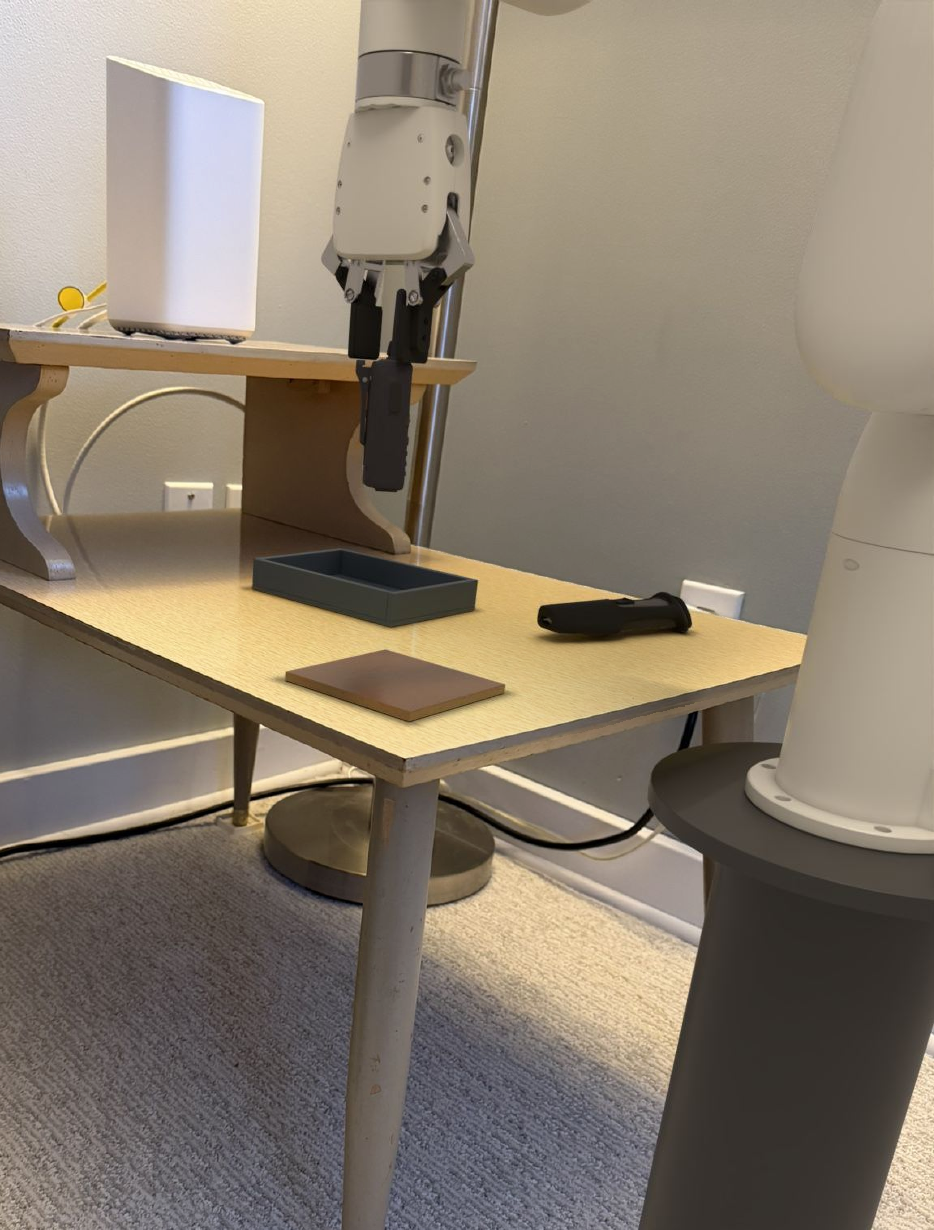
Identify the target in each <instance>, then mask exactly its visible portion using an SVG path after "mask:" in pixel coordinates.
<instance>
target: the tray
mask: <svg viewBox="0 0 934 1230" xmlns="http://www.w3.org/2000/svg"><path fill="white" fill-rule="evenodd" d="M252 562H253V564H252V577H251V578H252V580H251V581H252V582H251V583H252V584H251V589H252V590H255V591H258V592H261V593H265V594H269V595H273V596H277V597H279V598H284V599H288V600H290V601H295V602H298V603H300V604H301V603H302V604H305V605H309V606H312V607H316V608H320V609H324V610H328V611H330V612H334V613H337V614H341V615H345V616H350V617H352V618H357V619H359V620H363V621H367V622H370V623H374V624H377V625H381V626H385V627H389V628H393V627H394V628H395V627H400V626H403V625H408V624H413V623H419V622H424V621H429V620H434V619H439V618H443V617H449V616H454V615H458V614H463V613H468V612H473V611H475V610H476V602H477V593H478V584H479V579H477V578H472V577H468V576H464V575H458V574H454V573H450V572H445V571H441V570H437V569H433V568H428V567H424V566H420V565H415V564H412V563H407V562H403V561H402V562H401V561H398V560H394V559H389V558H386V557H382V556H378V555H372V554H367V553H364V552H359V551H356V550H351V549H348V548H347V549H346V548H344V547H343V548H342V547H340V548H339V547H338V548H331V549H321V550H313V551H306V552H298V553H297V552H296V553H289V554H288V553H287V554H280V555H279V554H278V555H272V556H271V555H270V556H263V557H254V558H253V561H252Z"/></svg>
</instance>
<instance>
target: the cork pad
mask: <svg viewBox="0 0 934 1230" xmlns="http://www.w3.org/2000/svg"><path fill="white" fill-rule="evenodd" d="M284 675H285V676H284V680H285V681H286V682H290V683H292V684H295V685H298V686H301V687H304V688H307V689H310V690H313V691H316V692H319V693H321V694H325V695H327V696H331V697H335V698H337V699H340V700H343V701H346V702H349V703H352V704H356V705H358V706H361V707H364V708H367V709H369V710H374V711H375V712H378V713H382V714H385V715H388V716H391V717H394V718H397V719H399V720H400V719H401V720H403V721H406V722H412V721H416V720H419V719H423V718H426V717H429V716H432V715H435V714H439V713H443V712H445V711H448V710H453V709H455V708H459V707H462V706H465V705H469V704H472V703H475V702H479V701H482V700H485V699H488V698H491V697H496V696H499V695H502V694H504V693H505V690H506V684H505V683H502V682H500V681H495V680H493V679H490V678H489V679H488V678H485V677H481V676H479V675H475V674H472V673H468V672H465V671H461V670H458V669H455V668H451V667H447V666H444V665H440V664H438V663H434V662H430V661H428V660H423V659H421V658H417V657H414V656H410V655H406V654H403V653H399V652H395V651H392V650H389V649H386V648H385V649H381V650H377V651H371V652H368V653H362V654H358V655H354V656H348V657H345V658H341V659H335V660H331V661H326V662H322V663H317V664H313V665H308V666H304V667H299V668H295V669H291V670H286V671H285V674H284Z"/></svg>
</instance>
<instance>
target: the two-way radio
mask: <svg viewBox="0 0 934 1230" xmlns="http://www.w3.org/2000/svg"><path fill="white" fill-rule="evenodd" d="M394 304H395V306H394V312H393V313H394V314H393V323H392V334H391V340H390V341H389V342H388V346H387V350H386V357H385V358H381V359H379V360H378V359H377V360H372V362H371V365H370V366H366V359H355V369H354V370H355V375H356V377H357V379H358V383H359V389H360V420H359V443H360V444H361V446H363V454H362V477H361V478H362V479H361V480H362V484H363V485H364V486H365V487H368V488H372V489H374V491H375V492H382V493H383V492H384V493H398V491H402V490H403V489H404V487H405V479H406V476H407V471H406V467H407V466H408V462H407V457H408V455H409V454H408V446H409V442H410V438H409V428H410V423H411V414H410V413H411V396H412V395H411V394H412V384H413V383H412V381H413V373H414V365H413V363H405V362H399V361H398V360H397V359H396V350H397V337H398V324H399V311H400V308H401V305H407V294H406V288H405V289H404V288H398V290H397V291H396V295H395V303H394Z"/></svg>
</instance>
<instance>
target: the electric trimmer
mask: <svg viewBox="0 0 934 1230" xmlns="http://www.w3.org/2000/svg"><path fill="white" fill-rule="evenodd" d="M691 615H692V614H691V612H690V610H689V608H688V605H687V604H686V603H685V601H684V600H683V599H682V598H681V597H679V596H677V595H673V594H671V593H669V592H667V591H659V592H656V593H655V594H653V595H652V596H651V597H647V598H640V599H632V598H628V597H621V598H615V599H612V598H611V599H609V598H602V599H601V598H600V599H594V600H581V601H572V602H569V601H568V602H559V603H549V604H543V605H540V606H539V607H538V612H537V616H536V620H537V621H536V622H537V625H538V627H540V628H541V629H544V630H546V631H548V632H552V633H555V634H559V635H584V636H594V637H595V636H596V637H613V636H618V635H620V633H621V632H629V631H642V630H643V631H644V630H658V629H669V630H673V631H675V632H680V633H686V632H688V631H689V629H691V628H692V626H693V620H692V616H691Z"/></svg>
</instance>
